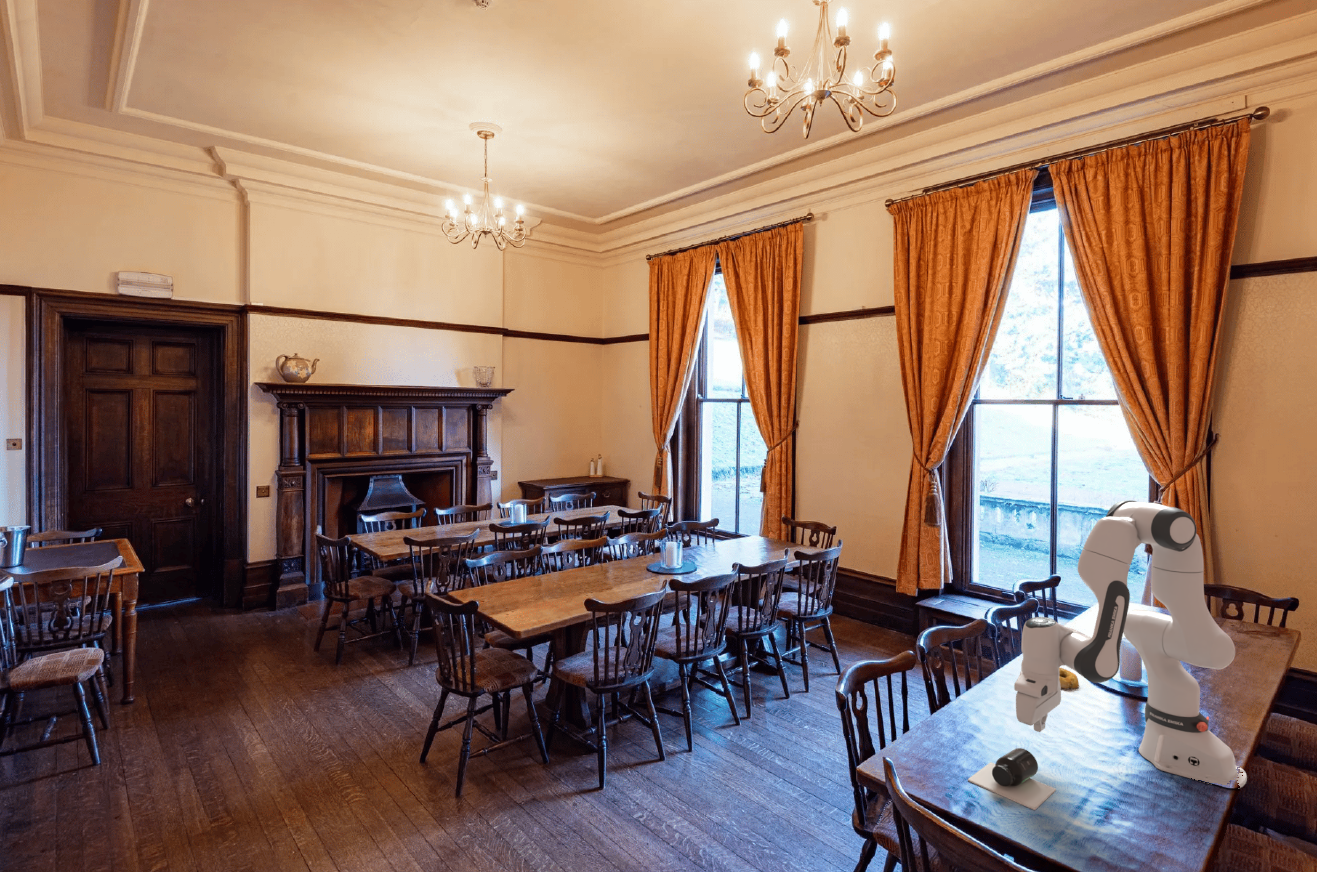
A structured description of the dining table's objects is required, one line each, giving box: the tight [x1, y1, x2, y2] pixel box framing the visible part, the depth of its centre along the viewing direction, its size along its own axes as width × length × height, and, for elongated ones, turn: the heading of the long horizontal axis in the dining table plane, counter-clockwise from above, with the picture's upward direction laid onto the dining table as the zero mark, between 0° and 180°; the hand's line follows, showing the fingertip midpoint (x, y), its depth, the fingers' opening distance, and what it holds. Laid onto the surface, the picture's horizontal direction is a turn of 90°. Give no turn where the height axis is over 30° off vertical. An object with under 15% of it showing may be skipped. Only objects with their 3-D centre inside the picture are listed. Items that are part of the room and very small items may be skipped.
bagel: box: [1059, 666, 1080, 690], centre depth 228 cm, size 10×11×5 cm
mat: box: [967, 761, 1057, 811], centre depth 167 cm, size 16×13×1 cm
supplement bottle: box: [992, 747, 1039, 787], centre depth 167 cm, size 7×7×12 cm
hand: (1039, 729), depth 176 cm, fingers closed
